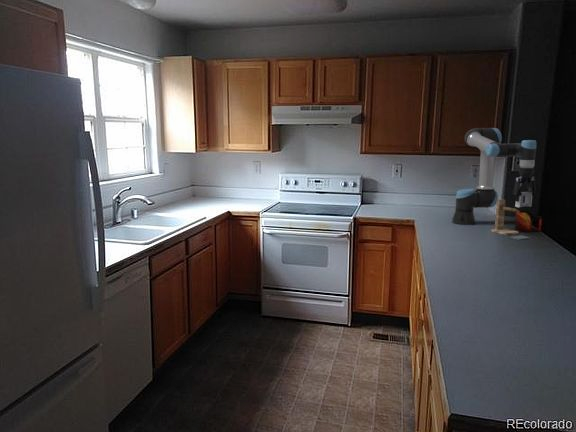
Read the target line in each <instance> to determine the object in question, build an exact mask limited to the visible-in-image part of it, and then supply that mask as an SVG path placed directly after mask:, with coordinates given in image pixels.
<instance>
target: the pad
mask: <svg viewBox="0 0 576 432" xmlns="http://www.w3.org/2000/svg"><path fill="white" fill-rule="evenodd" d="M510 239H514V240H517V241H520V240H529V239H531V237H529V236H525V235H513V236H510Z"/></svg>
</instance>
